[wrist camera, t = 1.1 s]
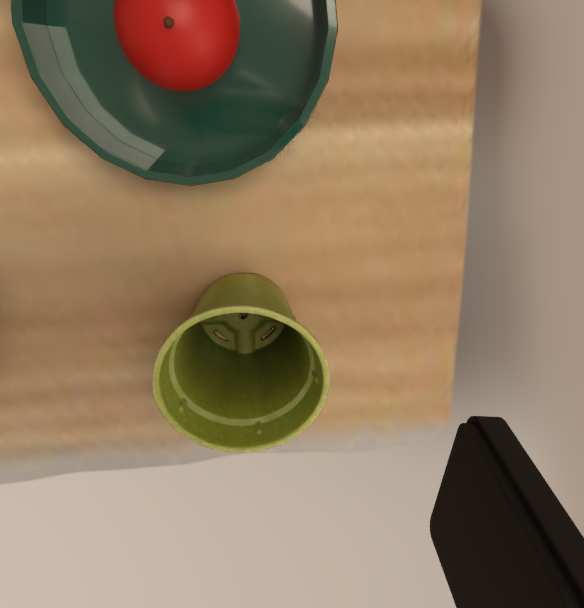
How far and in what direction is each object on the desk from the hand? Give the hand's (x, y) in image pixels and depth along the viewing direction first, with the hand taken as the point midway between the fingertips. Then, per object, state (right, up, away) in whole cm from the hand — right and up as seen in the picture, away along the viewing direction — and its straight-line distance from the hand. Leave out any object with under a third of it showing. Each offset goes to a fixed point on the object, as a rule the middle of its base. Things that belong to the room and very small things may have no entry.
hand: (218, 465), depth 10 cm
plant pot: (-2, +3, +25) cm, 26 cm away
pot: (-4, +18, +17) cm, 25 cm away
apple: (-4, +18, +17) cm, 25 cm away
